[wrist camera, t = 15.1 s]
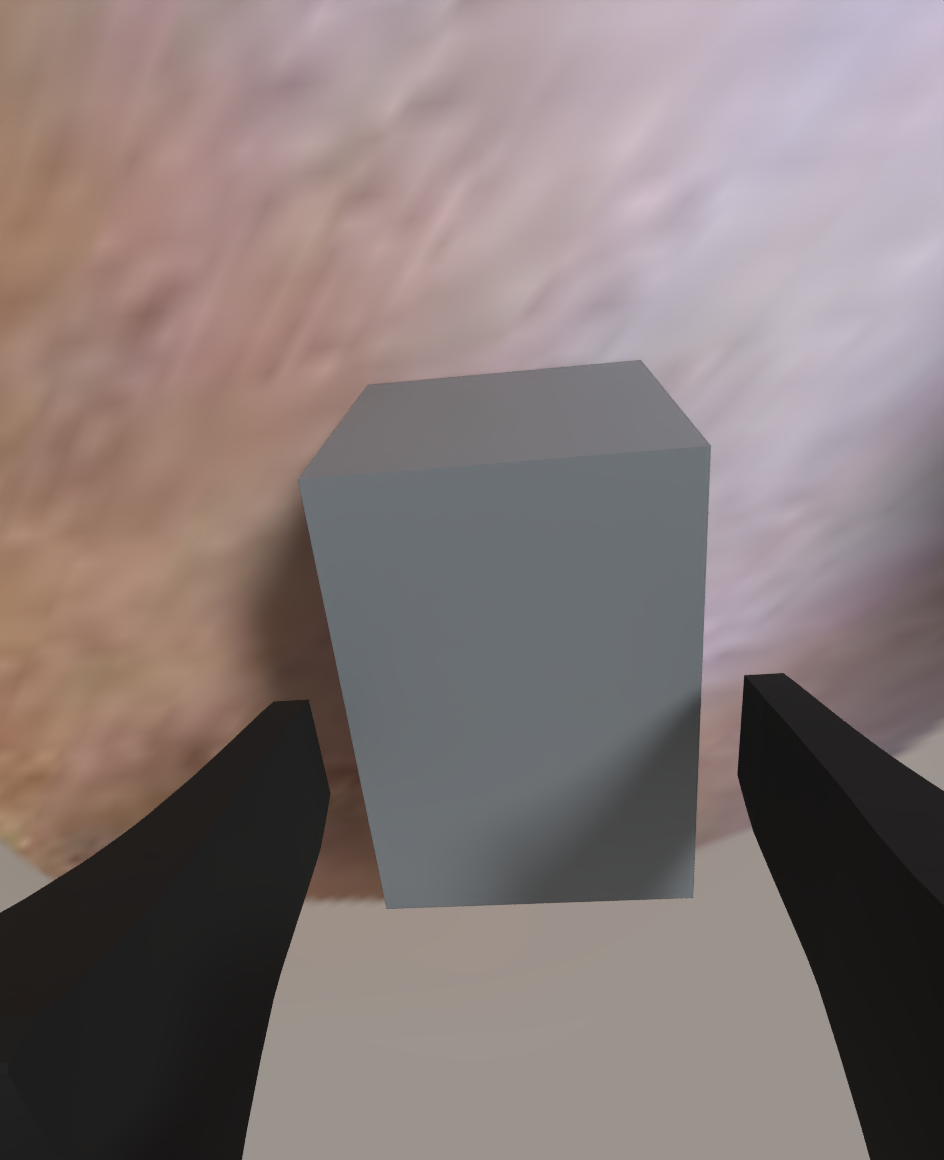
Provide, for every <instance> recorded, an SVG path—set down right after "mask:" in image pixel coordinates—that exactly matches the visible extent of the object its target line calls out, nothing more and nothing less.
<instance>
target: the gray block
mask: <svg viewBox="0 0 944 1160" xmlns="http://www.w3.org/2000/svg"><path fill="white" fill-rule="evenodd" d="M710 452H711V445H710V444H709V443H708V442H707V440H706V439H705V438H704V437H703V436H702V434H701V433H700V432H699V431H698V429H697V428H696V427H695V426H694V425H693V423H692V422H691V421H690V420H689V418H688V417H687V416H686V415H685V414H684V412H683V411H682V410H681V409H680V407H679V406H678V405H677V404H676V402H675V401H674V400H673V399H672V398H671V396H670V395H669V394H668V393H667V391H666V390H665V389H664V388H663V387H662V385H661V384H660V383H659V382H658V380H657V379H656V378H655V377H654V376H653V374H652V373H651V372H650V371H649V369H648V368H647V367H646V366H645V364H644V363H643V362H642V361H641V360H638V361H627V362H616V363H605V364H594V365H583V366H572V367H561V368H550V369H539V370H528V371H517V372H506V373H495V374H484V375H473V376H462V377H451V378H440V379H429V380H418V381H407V382H396V383H385V384H374V385H367V387H366V388H365V389H364V391H363V392H362V394H361V395H360V396H359V398H358V399H357V400H356V402H355V403H354V404H353V406H352V407H351V408H350V410H349V411H348V412H347V414H346V415H345V416H344V418H343V419H342V421H341V422H340V423H339V425H338V426H337V427H336V429H335V430H334V431H333V433H332V434H331V435H330V437H329V438H328V439H327V441H326V442H325V444H324V445H323V446H322V448H321V449H320V450H319V452H318V453H317V454H316V456H315V457H314V458H313V460H312V461H311V462H310V464H309V465H308V467H307V468H306V469H305V471H304V472H303V473H302V475H301V476H300V477H299V479H298V482H299V487H300V491H301V496H302V501H303V506H304V511H305V516H306V521H307V525H308V530H309V535H310V540H311V545H312V550H313V554H314V559H315V564H316V569H317V574H318V579H319V584H320V588H321V593H322V598H323V603H324V608H325V613H326V617H327V622H328V627H329V632H330V637H331V642H332V647H333V651H334V656H335V661H336V666H337V671H338V676H339V680H340V685H341V690H342V695H343V700H344V705H345V710H346V714H347V719H348V724H349V729H350V734H351V739H352V743H353V748H354V753H355V758H356V763H357V768H358V772H359V777H360V782H361V787H362V792H363V797H364V802H365V806H366V811H367V816H368V821H369V826H370V831H371V835H372V840H373V845H374V850H375V855H376V860H377V865H378V869H379V874H380V879H381V884H382V889H383V894H384V898H385V903H386V908H387V909H396V908H424V907H452V906H478V905H479V906H480V905H508V904H535V903H563V902H590V901H617V900H618V901H619V900H647V899H674V898H693V887H694V861H695V836H696V810H697V785H698V759H699V733H700V708H701V682H702V657H703V631H704V606H705V580H706V554H707V529H708V503H709V478H710Z"/></svg>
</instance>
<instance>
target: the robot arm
mask: <svg viewBox="0 0 944 1160" xmlns="http://www.w3.org/2000/svg"><path fill="white" fill-rule="evenodd" d="M738 779H739V782H740V786H741V790H742V793H743V797H744V801H745V805H746V808H747V812H748V815H749V818H750V822H751V825H752V829H753V832H754V834H755V837H756V839H757V841H758V844H759V846H760V849H761V851H762V853H763V856H764V858H765V860H766V863H767V865H768V868H769V870H770V872H771V875H772V877H773V879H774V881H775V884H776V886H777V888H778V891H779V893H780V896H781V898H782V900H783V903H784V905H785V907H786V909H787V912H788V914H789V916H790V919H791V921H792V923H793V926H794V928H795V930H796V933H797V935H798V937H799V940H800V942H801V944H802V947H803V949H804V951H805V953H806V956H807V958H808V961H809V964H810V966H811V969H812V972H813V974H814V976H815V979H816V982H817V984H818V987H819V991H820V994H821V997H822V1000H823V1003H824V1006H825V1009H826V1012H827V1016H828V1019H829V1022H830V1025H831V1028H832V1032H833V1034H834V1038H835V1041H836V1044H837V1047H838V1051H839V1054H840V1057H841V1061H842V1064H843V1067H844V1071H845V1074H846V1077H847V1081H848V1084H849V1087H850V1091H851V1094H852V1097H853V1101H854V1104H855V1108H856V1111H857V1114H858V1118H859V1121H860V1124H861V1128H862V1132H863V1135H864V1139H865V1142H866V1146H867V1150H868V1153H869V1157H870V1160H944V791H943V790H941V789H940V788H938V787H937V786H935V785H933V784H932V783H930V782H929V781H927V780H926V779H924V778H923V777H921V776H920V775H918V774H917V773H915V772H914V771H912V770H911V769H909V768H908V767H906V766H905V765H903V764H902V763H900V762H899V761H898V760H896V759H895V758H893V757H892V756H891V755H889V754H888V753H886V752H885V751H883V750H882V749H881V748H879V747H878V746H877V745H875V744H874V743H872V742H871V741H870V740H868V739H867V738H866V737H864V736H863V735H862V734H860V733H859V732H858V731H856V730H855V729H854V728H853V727H851V726H850V725H849V724H847V723H846V722H845V721H843V720H842V719H841V718H840V717H838V716H837V715H836V714H835V713H833V712H832V711H831V710H829V709H828V708H827V707H826V706H824V705H823V704H822V703H821V702H819V701H818V700H817V699H816V698H814V697H813V696H812V695H811V694H809V693H808V692H807V691H806V690H804V689H803V688H802V687H801V686H799V685H798V684H797V683H796V682H794V681H793V680H792V679H790V678H789V677H788V676H786V675H785V674H784V673H779V674H761V675H744V688H743V703H742V717H741V732H740V746H739V761H738ZM329 798H330V790H329V786H328V781H327V777H326V773H325V768H324V764H323V760H322V755H321V751H320V747H319V742H318V738H317V734H316V730H315V725H314V721H313V717H312V712H311V708H310V704H309V700H295V701H277V702H273V703H272V704H271V705H269V706H268V707H267V708H266V709H265V710H264V711H263V712H261V713H260V714H259V715H258V716H257V717H256V718H255V719H254V720H253V721H252V722H251V723H250V724H249V725H248V726H247V727H246V728H244V729H243V730H242V731H241V732H240V733H239V734H238V735H237V736H236V737H235V738H234V739H233V740H232V741H231V742H230V743H229V744H228V745H227V746H226V747H224V748H223V749H222V750H221V751H220V752H219V753H218V754H217V755H216V756H215V757H214V758H213V759H212V760H211V761H209V762H208V763H207V764H206V765H205V766H204V767H203V768H202V769H201V770H200V771H199V772H198V773H196V774H195V775H194V776H193V777H192V778H191V779H190V780H188V781H187V782H186V783H185V784H184V785H183V786H181V787H180V788H179V789H178V790H177V791H175V792H174V793H173V794H172V795H171V796H170V797H168V798H167V799H166V800H165V801H164V802H163V803H161V804H160V805H159V806H158V807H157V808H155V809H154V810H153V811H152V812H151V813H150V814H148V815H147V816H146V817H145V818H143V819H142V820H141V821H140V822H138V823H137V824H136V825H134V826H133V827H132V828H130V829H129V830H128V831H126V832H125V833H124V834H122V835H121V836H120V837H118V838H117V839H116V840H114V841H113V842H111V843H110V844H109V845H107V846H106V847H104V848H103V849H102V850H100V851H99V852H97V853H96V854H95V855H93V856H92V857H90V858H89V859H87V860H86V861H84V862H83V863H81V864H80V865H78V866H77V867H75V868H73V869H72V870H70V871H69V872H67V873H65V874H64V875H62V876H61V877H59V878H57V879H56V880H54V881H53V882H51V883H49V884H48V885H46V886H45V887H43V888H41V889H40V890H38V891H37V892H35V893H33V894H32V895H30V896H29V897H27V898H25V899H24V900H22V901H20V902H18V903H17V904H15V905H13V906H11V907H10V908H8V909H6V910H4V911H3V912H1V913H0V1160H242V1155H243V1150H244V1144H245V1138H246V1132H247V1127H248V1121H249V1116H250V1111H251V1106H252V1101H253V1096H254V1091H255V1085H256V1080H257V1075H258V1069H259V1065H260V1060H261V1055H262V1050H263V1046H264V1041H265V1037H266V1032H267V1027H268V1022H269V1018H270V1013H271V1009H272V1004H273V999H274V996H275V992H276V989H277V985H278V981H279V978H280V974H281V970H282V967H283V964H284V961H285V958H286V955H287V952H288V949H289V946H290V943H291V940H292V936H293V933H294V930H295V927H296V924H297V921H298V918H299V915H300V912H301V909H302V906H303V903H304V899H305V896H306V893H307V890H308V887H309V884H310V881H311V878H312V874H313V871H314V868H315V865H316V862H317V858H318V855H319V852H320V848H321V843H322V838H323V833H324V828H325V823H326V817H327V810H328V804H329Z"/></svg>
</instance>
